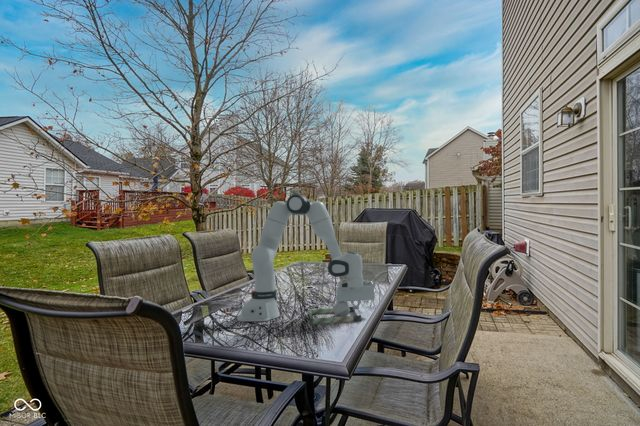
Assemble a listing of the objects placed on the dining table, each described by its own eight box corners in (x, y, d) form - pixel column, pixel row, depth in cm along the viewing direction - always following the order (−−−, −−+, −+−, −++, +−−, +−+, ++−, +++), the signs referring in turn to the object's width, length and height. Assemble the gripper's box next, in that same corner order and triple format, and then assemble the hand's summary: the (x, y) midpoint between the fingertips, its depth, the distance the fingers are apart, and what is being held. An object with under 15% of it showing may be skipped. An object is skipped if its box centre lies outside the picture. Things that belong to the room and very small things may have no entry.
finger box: (311, 325, 171) (310, 319, 171) (309, 314, 191) (308, 309, 191) (361, 321, 173) (361, 315, 173) (354, 311, 193) (354, 306, 193)
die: (352, 316, 184) (344, 300, 189) (352, 312, 177) (344, 295, 182) (338, 323, 183) (331, 306, 188) (337, 319, 176) (329, 302, 181)
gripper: (372, 280, 187) (373, 306, 187) (335, 282, 186) (336, 308, 185) (375, 282, 181) (376, 309, 181) (336, 284, 179) (337, 311, 179)
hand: (355, 309), depth 183 cm, fingers closed
